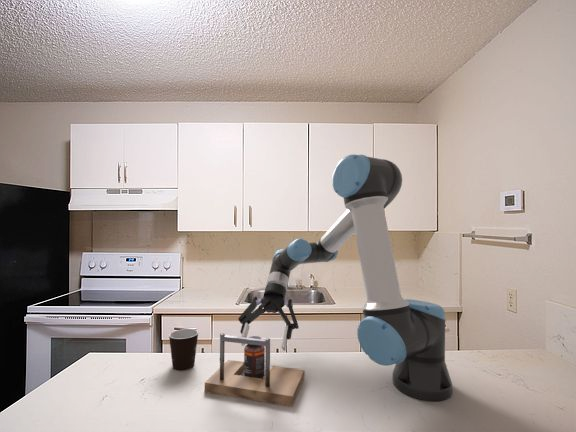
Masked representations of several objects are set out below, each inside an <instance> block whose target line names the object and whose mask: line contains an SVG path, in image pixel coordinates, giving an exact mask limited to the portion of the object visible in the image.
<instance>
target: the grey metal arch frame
mask: <svg viewBox="0 0 576 432" xmlns="http://www.w3.org/2000/svg"><path fill="white" fill-rule="evenodd" d="M225 342H226V343H237V344H241V343H243V344H245V345H247V344H251V345H260V346H264V347H265V376H264V378H265V386H266V387H269V386H270V370H271V338H265V339H264V338H263V339H262V338H261V339H255V338H249V337H247V338H246V337H241V336H237V335H227V334H225V333H220V334H219V368H220V380H224V363H225V346H226V345H225Z"/></svg>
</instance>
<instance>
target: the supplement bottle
mask: <svg viewBox="0 0 576 432" xmlns="http://www.w3.org/2000/svg"><path fill="white" fill-rule="evenodd" d="M248 338H255V339H262V337H261V336H259V335H258V336H257V335H253V336H252V335H251V336H250V337H249V336H248ZM265 350H266V346H260V345H251V344H245V345H244V349H243V355H244V356H243V357H244V359H243V360H244V361H243V362H244V372H243V373H244V374H243V376H247V377H254V378H260V379H264V378H265Z"/></svg>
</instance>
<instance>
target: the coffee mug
mask: <svg viewBox="0 0 576 432" xmlns="http://www.w3.org/2000/svg"><path fill="white" fill-rule="evenodd" d="M198 337H199V331H198V330H197V329H194V328H181V329H178V330H174V331H172V332H170V333H169V334H168V338H169V345H170V346H169V347H170V355H171V356H170V357H171V363H172V369H173V370H174V371H177V372H183V371H188V370H191V369H192V368H193V367H195V361H196V354H197V353H196V352H197V346H198Z"/></svg>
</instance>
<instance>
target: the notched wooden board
mask: <svg viewBox="0 0 576 432" xmlns="http://www.w3.org/2000/svg"><path fill="white" fill-rule="evenodd" d="M243 373H244V361H240V360H233V359H227V360H226V361H224V380H220V367H219V368H218V369H217V370H216V371H215V372H214V373H213V374H212V375H210V377H208V378H207V379H206V380H205V382H204V392H205V393H207V394H215V395H219V396H220V395H221V396H225V397H233V398H238V399H242V400H250V401H256V402H260V403H261V402H262V403H267V404H268V403H269V404H272V405H273V404H274V405H281V406H286V407H291V408H292V407H294V405H295V403H296V400H297V397H298V395H299V393H300V390H301V388H302V386H303V384H304V381H305V369H299V368H292V367H286V366H279V365H278V366H277V365H273V366H272V367H270V386H269V387H266V386H265V377H264V378H263V379H260V378H254V377H247V376H244V375H242V374H243Z"/></svg>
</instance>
